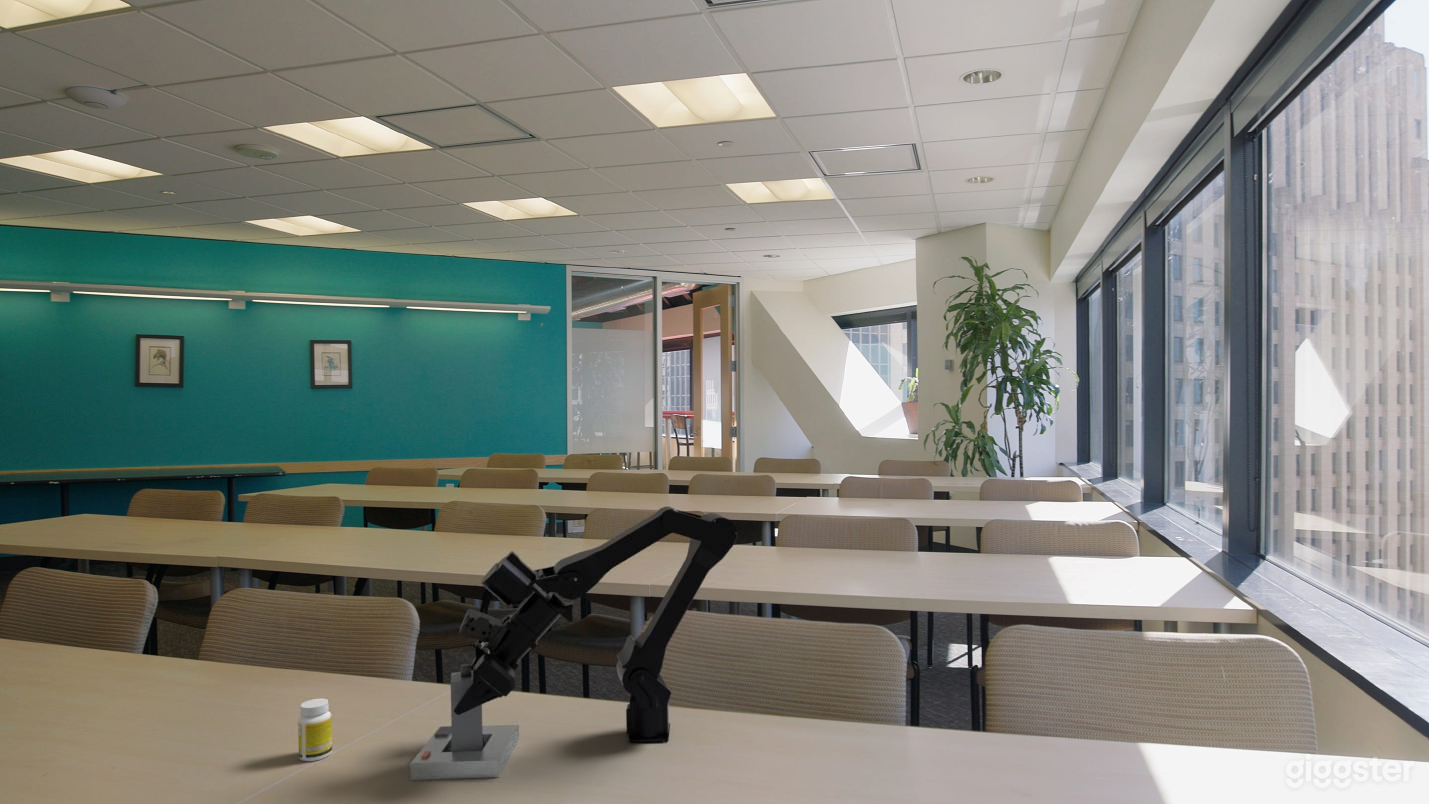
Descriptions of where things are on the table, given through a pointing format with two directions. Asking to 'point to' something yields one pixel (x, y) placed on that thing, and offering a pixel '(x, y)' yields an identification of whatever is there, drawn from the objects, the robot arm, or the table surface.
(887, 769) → the table surface
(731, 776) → the table surface
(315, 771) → the table surface
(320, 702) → the supplement bottle
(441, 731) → the socket
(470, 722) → the plug
